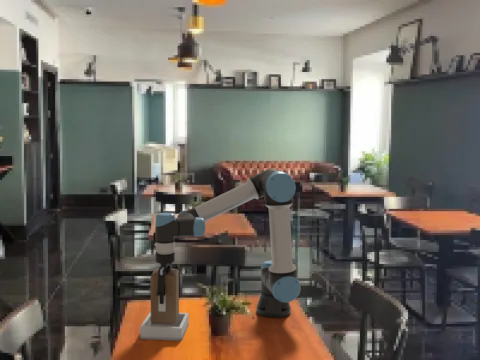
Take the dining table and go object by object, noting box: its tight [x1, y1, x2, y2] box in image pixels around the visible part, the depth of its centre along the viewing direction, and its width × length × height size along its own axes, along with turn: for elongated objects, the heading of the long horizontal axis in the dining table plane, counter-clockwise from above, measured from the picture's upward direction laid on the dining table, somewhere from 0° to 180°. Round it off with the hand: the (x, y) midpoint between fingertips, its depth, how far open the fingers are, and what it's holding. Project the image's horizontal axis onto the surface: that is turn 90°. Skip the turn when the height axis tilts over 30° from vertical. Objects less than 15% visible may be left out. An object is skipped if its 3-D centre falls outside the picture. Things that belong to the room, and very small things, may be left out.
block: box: [150, 268, 180, 324], centre depth 215 cm, size 10×10×20 cm
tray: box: [139, 311, 190, 342], centre depth 217 cm, size 16×16×5 cm
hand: (165, 306), depth 216 cm, fingers closed on block, 10 cm apart
